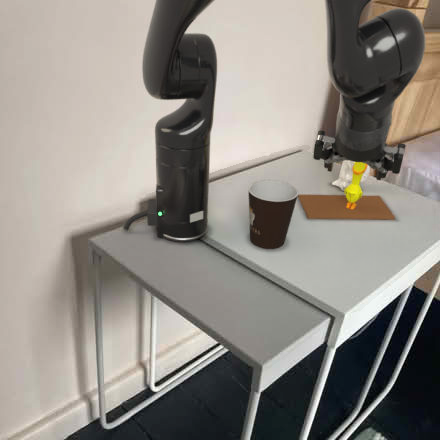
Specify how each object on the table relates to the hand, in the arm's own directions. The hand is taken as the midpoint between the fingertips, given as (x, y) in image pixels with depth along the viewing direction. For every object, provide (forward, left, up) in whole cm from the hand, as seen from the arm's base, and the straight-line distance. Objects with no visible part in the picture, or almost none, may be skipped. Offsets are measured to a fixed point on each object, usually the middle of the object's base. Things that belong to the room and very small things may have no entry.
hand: (355, 170), depth 88 cm
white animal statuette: (+7, +21, -13) cm, 25 cm away
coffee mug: (-14, -1, -13) cm, 19 cm away
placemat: (+4, +11, -13) cm, 17 cm away
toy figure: (+5, +10, -12) cm, 17 cm away
